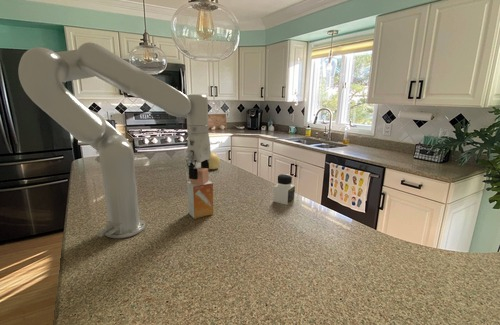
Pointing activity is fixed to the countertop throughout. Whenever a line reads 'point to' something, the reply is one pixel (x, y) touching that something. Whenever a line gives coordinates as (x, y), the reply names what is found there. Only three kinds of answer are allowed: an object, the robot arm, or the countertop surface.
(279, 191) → the medicine bottle
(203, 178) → the terracotta block
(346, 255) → the countertop surface
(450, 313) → the countertop surface
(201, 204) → the small box
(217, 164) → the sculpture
